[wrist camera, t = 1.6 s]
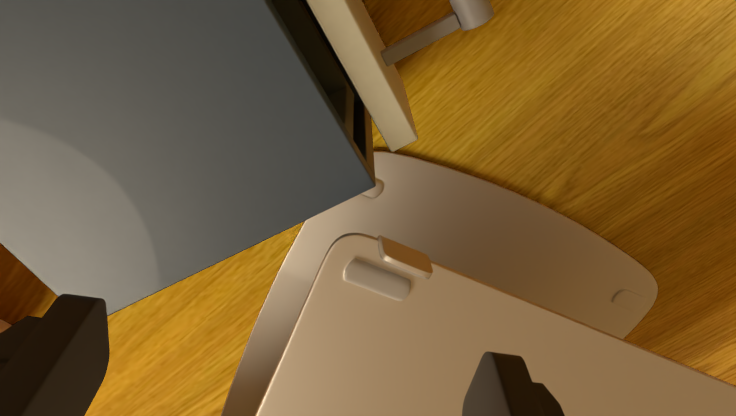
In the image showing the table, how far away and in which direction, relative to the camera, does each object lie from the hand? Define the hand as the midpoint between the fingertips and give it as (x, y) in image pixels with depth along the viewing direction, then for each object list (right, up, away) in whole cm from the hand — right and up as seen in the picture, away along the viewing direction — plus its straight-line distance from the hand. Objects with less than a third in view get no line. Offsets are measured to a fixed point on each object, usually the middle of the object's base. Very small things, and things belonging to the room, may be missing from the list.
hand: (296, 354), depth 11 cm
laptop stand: (+7, -5, +26) cm, 27 cm away
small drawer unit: (-8, +10, +16) cm, 21 cm away
